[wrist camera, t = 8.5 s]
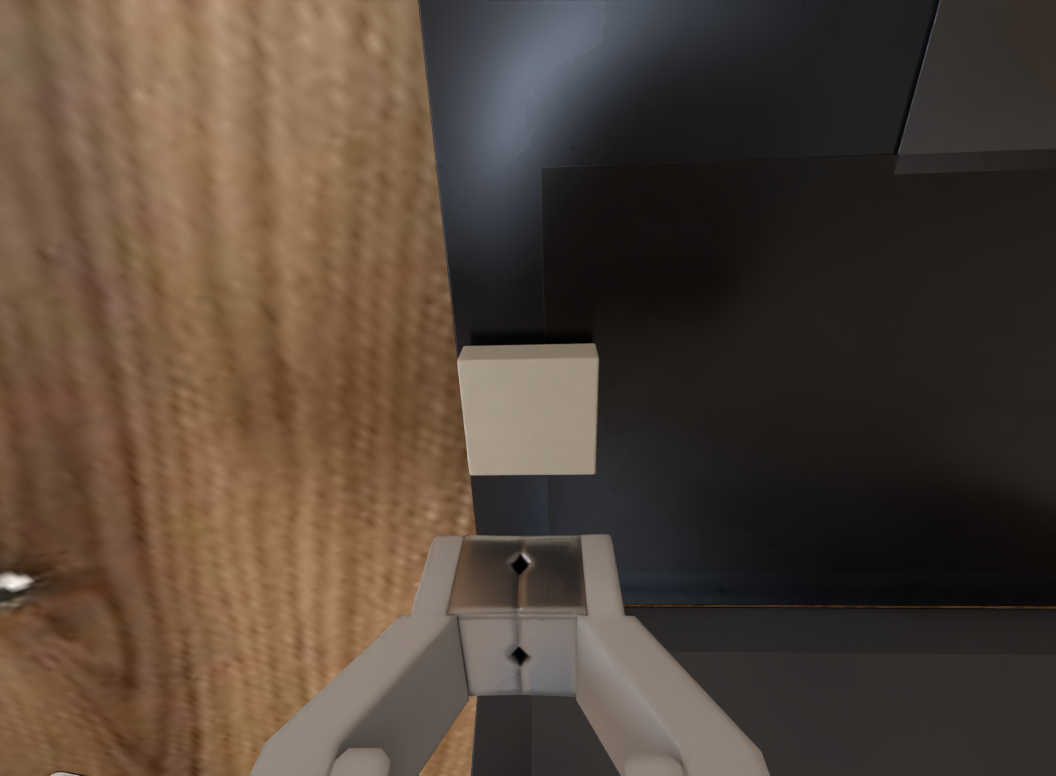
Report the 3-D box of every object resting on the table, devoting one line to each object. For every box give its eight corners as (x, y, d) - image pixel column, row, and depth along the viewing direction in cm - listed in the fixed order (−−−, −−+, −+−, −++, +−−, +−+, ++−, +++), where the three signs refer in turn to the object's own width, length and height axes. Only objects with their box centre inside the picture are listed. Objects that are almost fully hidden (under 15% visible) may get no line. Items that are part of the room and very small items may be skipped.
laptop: (414, -197, 10) (386, -269, 8) (2137, -327, 8) (2541, -447, 7) (489, 565, 19) (483, 606, 18) (1309, 566, 18) (1390, 611, 16)
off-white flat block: (462, 345, 13) (456, 360, 12) (595, 342, 12) (599, 357, 12) (474, 455, 14) (469, 476, 13) (592, 454, 14) (595, 475, 13)
